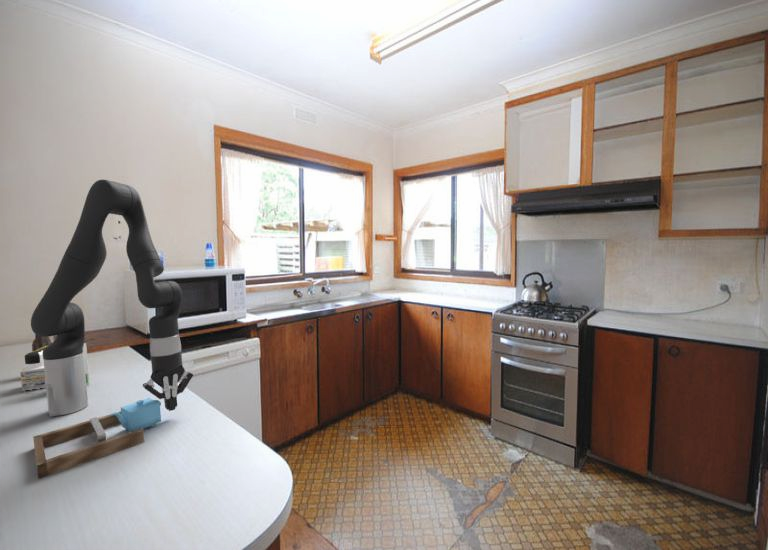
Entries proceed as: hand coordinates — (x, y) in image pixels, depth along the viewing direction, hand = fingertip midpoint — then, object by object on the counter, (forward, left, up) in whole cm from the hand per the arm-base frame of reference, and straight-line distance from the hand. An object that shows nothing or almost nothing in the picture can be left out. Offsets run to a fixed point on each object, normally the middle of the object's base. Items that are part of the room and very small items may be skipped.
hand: (171, 409), depth 104 cm
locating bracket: (-19, 0, -3) cm, 19 cm away
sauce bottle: (-23, +84, -3) cm, 87 cm away
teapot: (-8, 0, -3) cm, 9 cm away
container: (-25, +67, -3) cm, 72 cm away
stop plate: (-17, 0, -3) cm, 17 cm away
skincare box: (-17, +56, -3) cm, 59 cm away
